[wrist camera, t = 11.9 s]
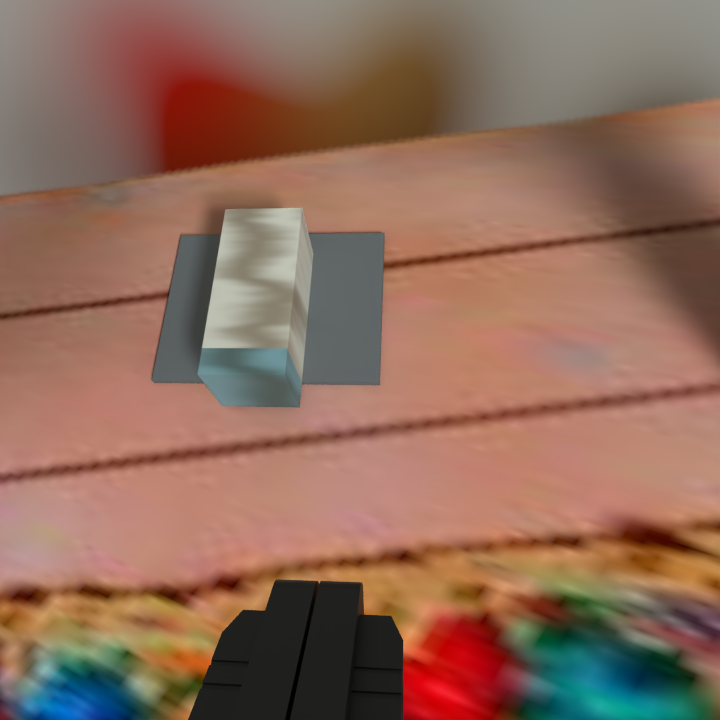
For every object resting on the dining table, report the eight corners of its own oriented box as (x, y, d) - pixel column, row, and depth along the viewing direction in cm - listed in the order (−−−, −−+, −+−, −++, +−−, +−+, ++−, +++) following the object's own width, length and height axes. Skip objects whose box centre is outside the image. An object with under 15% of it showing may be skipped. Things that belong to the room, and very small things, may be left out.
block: (299, 406, 46) (313, 253, 52) (284, 375, 41) (302, 207, 47) (222, 406, 47) (244, 254, 53) (197, 374, 41) (225, 209, 47)
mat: (384, 236, 53) (384, 232, 53) (379, 385, 47) (379, 382, 47) (183, 238, 55) (181, 235, 54) (154, 382, 49) (151, 380, 48)
